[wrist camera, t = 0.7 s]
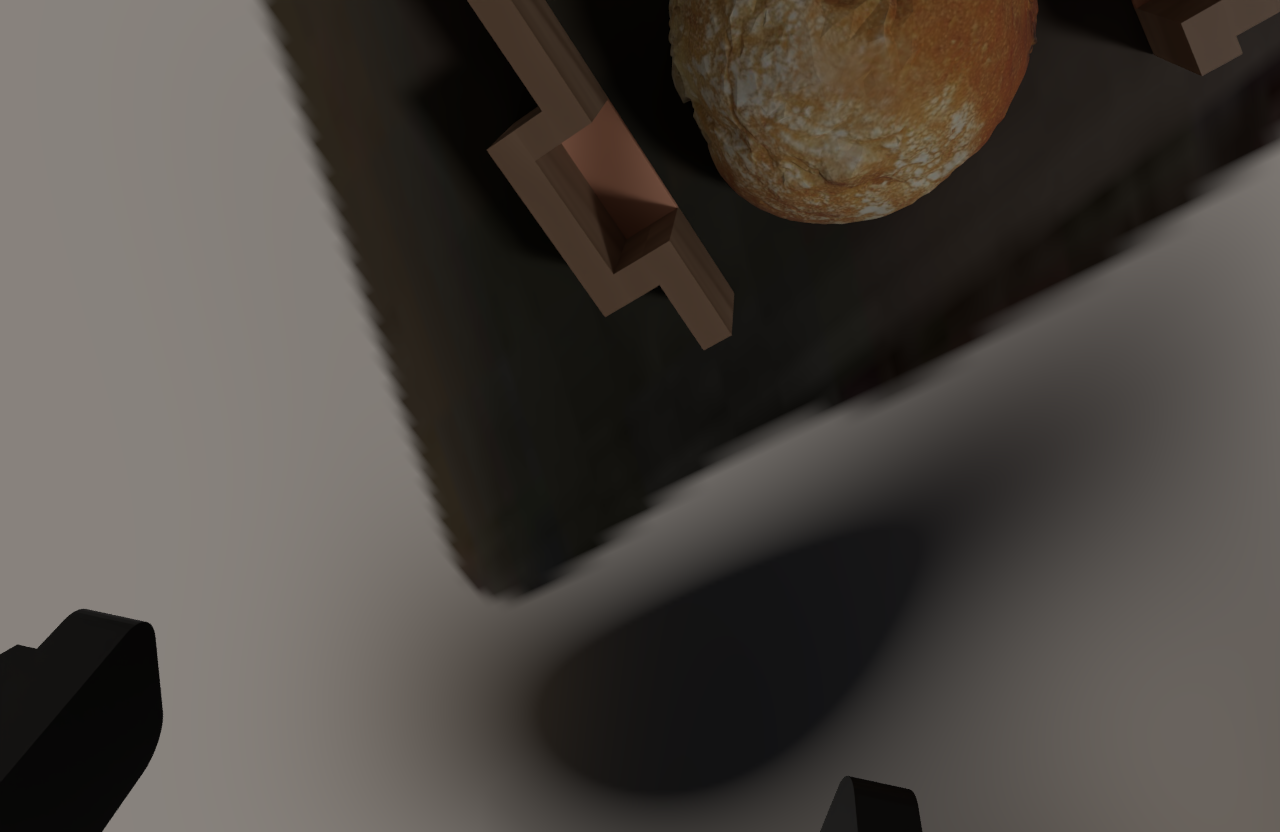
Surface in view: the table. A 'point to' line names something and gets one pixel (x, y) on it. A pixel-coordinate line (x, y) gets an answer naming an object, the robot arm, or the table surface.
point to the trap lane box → (634, 193)
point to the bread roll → (846, 95)
